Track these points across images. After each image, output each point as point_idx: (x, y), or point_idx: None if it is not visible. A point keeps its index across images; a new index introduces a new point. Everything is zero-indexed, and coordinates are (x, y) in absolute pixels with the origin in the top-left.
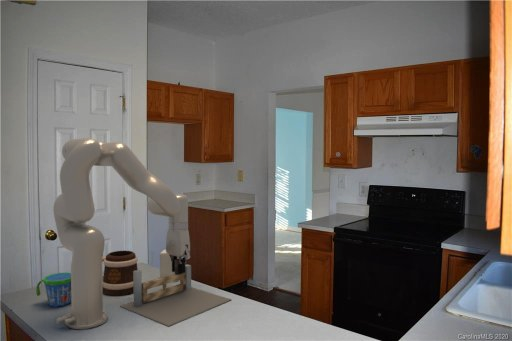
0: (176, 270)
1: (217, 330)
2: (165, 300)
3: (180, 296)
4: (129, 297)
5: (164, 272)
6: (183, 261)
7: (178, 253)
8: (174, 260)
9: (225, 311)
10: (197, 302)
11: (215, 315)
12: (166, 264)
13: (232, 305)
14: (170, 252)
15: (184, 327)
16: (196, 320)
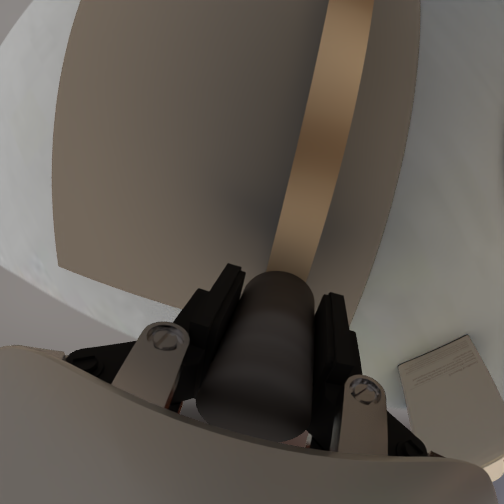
0: (269, 292)
1: (2, 66)
2: (271, 95)
3: (236, 191)
4: (483, 84)
5: (464, 374)
6: (108, 347)
7: (5, 393)
8: (324, 399)
9: (25, 170)
10: (113, 168)
11: (28, 125)
12: (467, 412)
13: (36, 226)
14: (358, 498)
15: (58, 5)
16: (49, 55)
